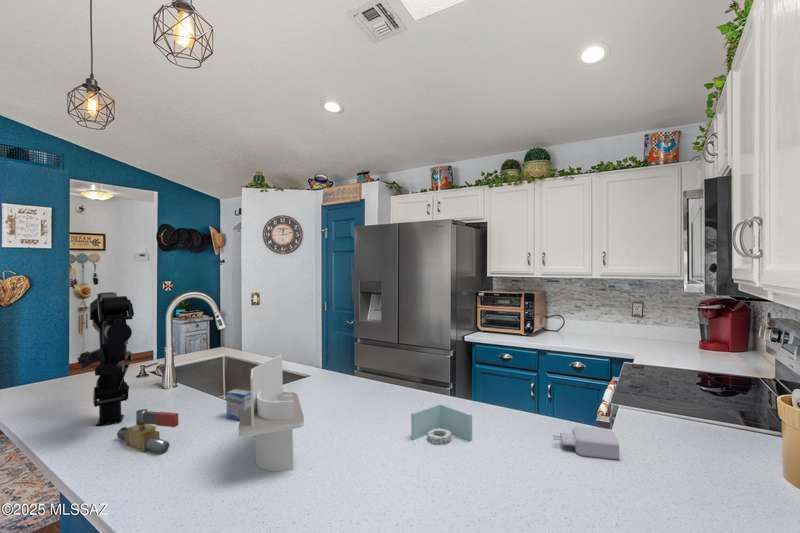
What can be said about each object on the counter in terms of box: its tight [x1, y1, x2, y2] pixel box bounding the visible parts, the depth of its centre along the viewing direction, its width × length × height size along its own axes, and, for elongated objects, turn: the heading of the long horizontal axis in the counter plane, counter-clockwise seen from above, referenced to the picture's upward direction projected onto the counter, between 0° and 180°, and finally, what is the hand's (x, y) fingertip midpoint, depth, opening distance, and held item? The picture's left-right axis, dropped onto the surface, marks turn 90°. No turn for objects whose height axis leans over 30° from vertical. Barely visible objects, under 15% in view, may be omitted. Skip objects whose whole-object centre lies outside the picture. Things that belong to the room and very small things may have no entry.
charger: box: [552, 425, 620, 461], centre depth 104 cm, size 5×9×15 cm
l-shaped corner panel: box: [410, 402, 473, 446], centre depth 111 cm, size 12×12×8 cm
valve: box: [116, 424, 170, 455], centre depth 110 cm, size 20×4×6 cm, turn 61°
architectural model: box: [238, 354, 305, 472], centre depth 104 cm, size 28×21×23 cm
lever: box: [135, 408, 179, 428], centre depth 108 cm, size 3×13×4 cm, turn 76°
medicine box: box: [226, 388, 251, 422], centre depth 129 cm, size 8×4×9 cm, turn 68°
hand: (115, 391), depth 117 cm, fingers closed
